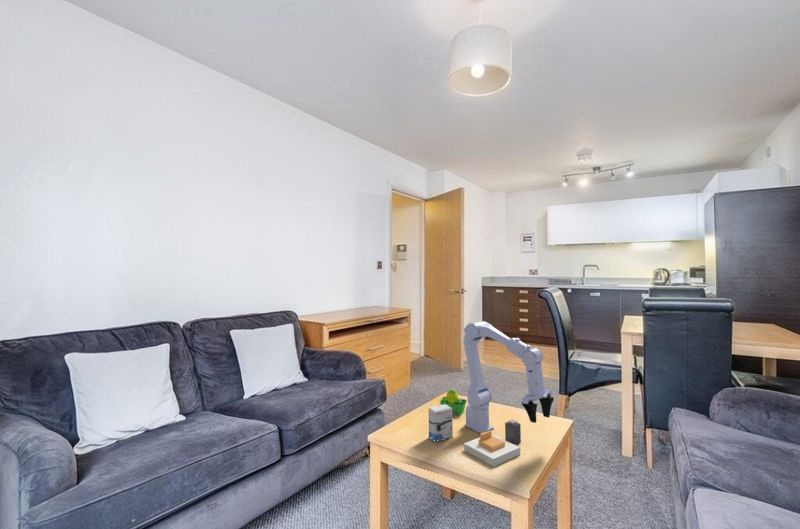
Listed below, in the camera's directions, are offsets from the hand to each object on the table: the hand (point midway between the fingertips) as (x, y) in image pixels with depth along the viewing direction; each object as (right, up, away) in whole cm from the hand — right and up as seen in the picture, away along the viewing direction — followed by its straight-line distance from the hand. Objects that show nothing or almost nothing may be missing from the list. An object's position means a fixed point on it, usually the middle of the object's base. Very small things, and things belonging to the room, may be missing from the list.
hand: (540, 419), depth 137 cm
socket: (-18, -11, -2) cm, 21 cm away
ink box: (-35, -12, +10) cm, 39 cm away
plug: (-8, -11, +6) cm, 15 cm away
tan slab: (-18, -8, -2) cm, 20 cm away
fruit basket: (-27, -12, +37) cm, 47 cm away
